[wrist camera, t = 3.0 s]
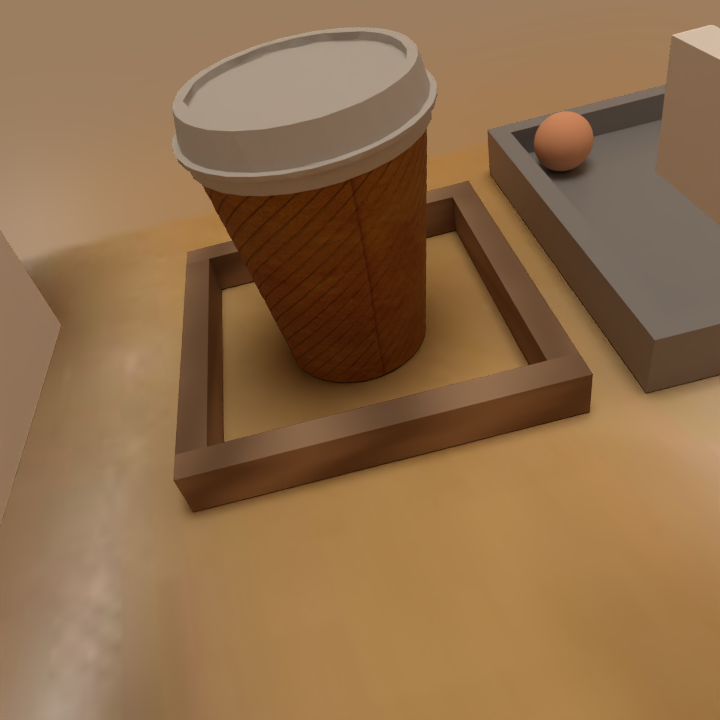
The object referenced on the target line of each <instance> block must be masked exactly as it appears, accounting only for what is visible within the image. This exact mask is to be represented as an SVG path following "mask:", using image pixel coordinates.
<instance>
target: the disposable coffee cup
mask: <svg viewBox="0 0 720 720" xmlns="http://www.w3.org/2000/svg"><path fill="white" fill-rule="evenodd" d="M436 97H437V84H436V81H435V79H434V77H433V76H432V74H430V73H429V72H428V71H427V70H426V69H425V67H424V65H423V61H422V59H421V56H420V53H419V50H418V47H417V46H416V44H415V43H414V42H413V41H412V40H411V39H409V38H408V37H407V36H406V35H404V34H401V33H398V32H395V31H391V30H386V29H381V28H338V29H328V30H321V31H314V32H308V33H303V34H298V35H294V36H289V37H284V38H281V39H277V40H274V41H271V42H267V43H264V44H261V45H257V46H254V47H252V48H249V49H247V50H244V51H242V52H239V53H237V54H234V55H232V56H229V57H227V58H225V59H223V60H221V61H219V62H217V63H216V64H214V65H212V66H210V67H208V68H206V69H205V70H203V71H201V72H200V73H198V74H197V75H196V76H194V77H193V78H192V79H190V80H189V81H188V82H186V84H185V85H184V86H183V87H182V88H181V89H180V90H179V91H178V93H177V95H176V98H175V100H174V102H173V106H172V110H173V116H174V122H175V129H176V132H175V135H174V138H173V140H172V146H173V152H174V154H175V156H176V158H177V160H178V162H179V163H180V164H181V165H182V166H183V167H184V168H185V169H186V170H188V171H190V173H191V174H192V176H193V178H194V179H195V180H197V181H198V182H199V183H201V184H202V186H204V189H205V191H206V193H207V195H208V196H209V198H210V199H211V201H212V203H213V206H214V208H215V210H216V212H217V214H218V215H219V217H220V219H221V221H222V223H223V224H224V226H225V227H226V229H227V232H228V234H229V236H230V237H231V239H232V241H233V243H234V245H235V247H236V249H237V250H238V252H239V254H240V256H241V259H242V260H243V262H244V263H245V265H246V266H247V269H248V271H249V273H250V275H251V276H252V278H253V280H254V282H255V284H256V286H257V288H258V289H259V292H260V294H261V295H262V297H263V299H264V300H265V301H266V305H267V306H268V308H269V310H270V311H271V314H272V316H273V318H274V319H275V321H276V323H277V325H278V327H279V329H280V330H281V332H282V334H283V336H284V338H285V340H286V341H287V344H288V346H289V347H290V349H291V351H292V353H293V355H294V358H295V359H296V361H297V363H298V364H299V365H300V366H301V367H302V368H303V369H304V370H305V371H306V372H308V373H309V374H311V375H313V376H315V377H318V378H321V379H324V380H328V381H334V382H356V381H363V380H368V379H372V378H375V377H379V376H381V375H383V374H386V373H388V372H390V371H392V370H394V369H396V368H397V367H399V366H401V365H402V364H404V363H405V362H406V361H407V360H408V359H409V358H411V357H412V356H413V355H414V354H415V352H416V351H417V350H418V348H419V347H420V345H421V343H422V341H423V339H424V336H425V328H426V324H425V319H426V313H425V310H426V301H425V300H426V204H427V200H426V194H427V184H426V179H427V168H426V166H427V133H426V132H427V126H428V124H429V122H430V120H431V111H432V110H433V108H434V105H435V101H436Z"/></svg>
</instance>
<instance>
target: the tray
mask: <svg viewBox="0 0 720 720" xmlns="http://www.w3.org/2000/svg"><path fill="white" fill-rule="evenodd" d="M665 88H666V85H663V86H659V87H655V88H651V89H647V90H643V91H639V92H635V93H632V94H628V95H624V96H619V97H615V98H612V99H608V100H604V101H600V102H596V103H592V104H588V105H584V106H580V107H576V108H572V109H568V110H564V111H569V112H575V113H577V114H579V115H581V116H583V117H584V118H585V119H586V120H587V121H588V123H589V124H590V126H591V128H592V131H593V146H592V149H591V152H590V154H589V155H588V157H587V158H586V159H585V161H584V162H583V163H582V164H580V165H579V166H577V167H576V168H574V169H571V170H568V171H554V170H551V169H549V168H547V167H545V166H544V165H543V164H542V163H541V162H540V161H539V160H538V158H537V156H536V154H535V150H534V138H535V134H536V132H537V130H538V128H539V126H540V125H541V123H542V122H543V121H544V120H545V119H547V118H548V117H549V116H551V115H553V114H555V113H552V114H548V115H544V116H540V117H537V118H533V119H529V120H525V121H521V122H517V123H513V124H509V125H505V126H501V127H497V128H493V129H489V130H488V147H489V166H490V174H491V176H492V177H493V178H494V180H495V181H496V183H497V184H498V185H499V187H500V188H501V190H502V191H503V192H504V194H505V195H506V197H507V198H508V199H509V201H510V202H511V204H512V205H513V206H514V208H515V209H516V211H517V212H518V213H519V215H520V216H521V218H522V219H523V220H524V222H525V223H526V225H527V226H528V228H529V229H530V230H531V232H532V233H533V235H534V236H535V237H536V239H537V240H538V242H539V243H540V244H541V246H542V247H543V249H544V250H545V251H546V253H547V254H548V256H549V257H550V258H551V260H552V261H553V263H554V264H555V265H556V267H557V268H558V270H559V271H560V272H561V274H562V275H563V277H564V278H565V279H566V281H567V282H568V284H569V285H570V287H571V288H572V289H573V291H574V292H575V294H576V295H577V296H578V298H579V299H580V301H581V302H582V303H583V305H584V306H585V308H586V309H587V310H588V312H589V313H590V315H591V316H592V317H593V319H594V320H595V322H596V323H597V324H598V326H599V327H600V329H601V330H602V331H603V333H604V334H605V336H606V337H607V339H608V340H609V341H610V343H611V344H612V346H613V347H614V348H615V350H616V351H617V353H618V354H619V355H620V357H621V358H622V360H623V361H624V362H625V364H626V365H627V367H628V368H629V369H630V371H631V372H632V374H633V375H634V376H635V378H636V379H637V381H638V382H639V383H640V385H641V386H642V388H643V389H644V390H645V392H646V393H648V392H652V391H656V390H660V389H664V388H668V387H672V386H676V385H680V384H684V383H688V382H692V381H696V380H700V379H703V378H707V377H711V376H715V375H719V374H720V225H719V224H718V223H716V222H715V221H714V220H713V219H712V218H710V217H709V216H708V215H707V214H706V213H704V212H703V211H702V210H701V209H700V208H698V207H697V206H696V205H695V204H694V203H693V202H691V201H690V200H689V199H688V198H687V197H685V196H684V195H683V194H682V193H681V192H679V191H678V190H677V189H676V188H675V187H674V186H672V185H671V184H670V183H669V182H668V181H666V180H665V179H664V178H663V177H662V176H660V175H659V174H658V173H657V172H656V164H657V155H658V147H659V138H660V130H661V121H662V113H663V105H664V96H665ZM560 112H563V111H560ZM556 113H558V112H556Z"/></svg>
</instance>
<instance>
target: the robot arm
mask: <svg viewBox="0 0 720 720" xmlns="http://www.w3.org/2000/svg"><path fill="white" fill-rule="evenodd" d="M656 172H657V173H658V174H659V175H660V176H662V177H663V178H664V179H665V180H666V181H668V182H669V183H670V184H671V185H672V186H674V187H675V188H676V189H677V190H678V191H679V192H681V193H682V194H683V195H684V196H685V197H687V198H688V199H689V200H690V201H691V202H693V203H694V204H695V205H696V206H697V207H698V208H700V209H701V210H702V211H703V212H704V213H706V214H707V215H708V216H709V217H710V218H712V219H713V220H714V221H715V222H716V223H718V224H719V225H720V28H718V27H716V26H713V25H709V26H705V27H701V28H697V29H693V30H689V31H685V32H682V33H678V34H674V35H672V37H671V45H670V54H669V62H668V71H667V79H666V88H665V96H664V105H663V113H662V121H661V130H660V138H659V147H658V155H657V164H656ZM60 328H61V324H60V322H59V321H58V319H57V318H56V316H55V314H54V313H53V311H52V310H51V308H50V307H49V305H48V304H47V302H46V300H45V299H44V297H43V296H42V294H41V293H40V291H39V290H38V288H37V287H36V285H35V283H34V282H33V280H32V279H31V277H30V276H29V274H28V273H27V271H26V270H25V268H24V266H23V265H22V263H21V262H20V260H19V259H18V257H17V256H16V254H15V252H14V251H13V250H12V248H11V246H10V245H9V243H8V242H7V240H6V239H5V237H4V235H3V234H2V232H1V231H0V525H1V522H2V519H3V515H4V512H5V509H6V505H7V502H8V499H9V496H10V492H11V489H12V486H13V482H14V479H15V476H16V473H17V469H18V466H19V463H20V459H21V456H22V453H23V450H24V446H25V443H26V440H27V436H28V433H29V430H30V427H31V423H32V420H33V417H34V413H35V410H36V407H37V404H38V400H39V397H40V394H41V390H42V387H43V384H44V381H45V377H46V374H47V371H48V367H49V364H50V361H51V358H52V354H53V351H54V348H55V344H56V341H57V338H58V335H59V331H60Z"/></svg>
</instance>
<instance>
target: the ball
mask: <svg viewBox="0 0 720 720" xmlns="http://www.w3.org/2000/svg"><path fill="white" fill-rule="evenodd" d="M592 146H593V131H592V128H591V126H590V124H589V123H588V121H587V120H586V119H585V118H584V117H583V116H581V115H579V114H577V113H575V112H569V111H563V112H558V113H555V114H553V115H551V116H549V117H548V118H547V119H545V120H544V121H543V122H542V123H541V125H540V126H539V128H538V130H537V132H536V134H535V138H534V150H535V154H536V156H537V158H538V160H539V161H540V162H541V163H542V164H543V165H544V166H545V167H547V168H549V169H551V170H554V171H568V170H571V169H574V168H576V167H577V166H579V165H580V164H582V163H583V162H584V161H585V159H586V158H587V157H588V155H589V154H590V152H591V149H592Z"/></svg>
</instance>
